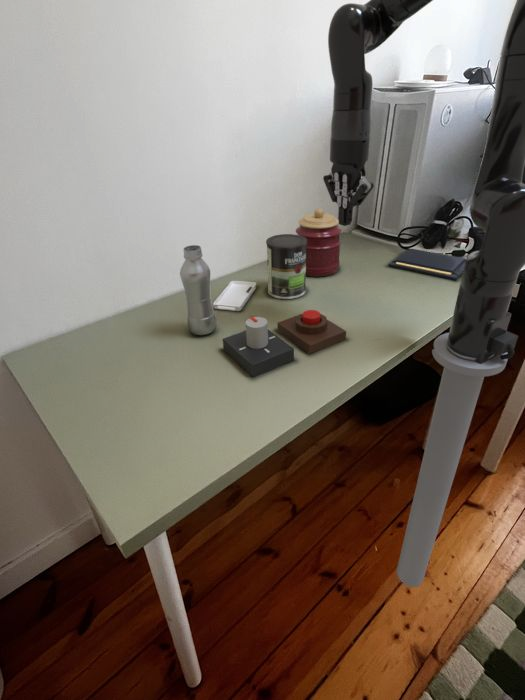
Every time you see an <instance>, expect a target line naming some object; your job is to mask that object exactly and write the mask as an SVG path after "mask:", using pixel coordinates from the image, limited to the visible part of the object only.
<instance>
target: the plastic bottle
mask: <svg viewBox="0 0 525 700" xmlns="http://www.w3.org/2000/svg"><path fill="white" fill-rule="evenodd" d="M182 251H183V259H184V261H183V263H182V265H181V266H180V270H179V277H180V280H181V283H182V286H183V289H184V294H185V299H186V305H187V306H186V307H187V323H186V324H187V326H188V329H189V331H190V332H191V333H192V334H193V335H196V336H204V335H209V334H211V333H212V332H214V331H215V329H216V327H217V315H216V313H215V310H214V307H213V301H212V295H211V292H212V291H211V269H210V267H209V265H208V263H207V262H206V260H204V259H203V252H202V251H203V250H202V246H200V245H197V244H193V245H187V246H184V248H183V249H182Z"/></svg>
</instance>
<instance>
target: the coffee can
mask: <svg viewBox="0 0 525 700" xmlns="http://www.w3.org/2000/svg"><path fill="white" fill-rule="evenodd" d="M265 244H266V260H267V262H266V264H267V293H268V295H270V296H271V297H273V298H275V299H279V300H294V299H297V298H300V297H302V296H304V295H305V294H306V292H307V290H306V289H307V288H306V282H307V280H306V279H307V278H306V277H307V275H306V244H307V239H306V238H305V237H303V236H299V235H297V234H292V233H283V234H282V233H281V234H276V235H272V236H270V237H268V238H267V239H266V241H265Z"/></svg>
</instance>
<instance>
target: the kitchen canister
mask: <svg viewBox="0 0 525 700" xmlns="http://www.w3.org/2000/svg"><path fill="white" fill-rule="evenodd" d="M339 225H340V224H339V221H338V218H336V217H335V216H334V215H332V214H330V213H326V212H325V213H324V210H323V209H322V208H316V209H315V210H314V212H313V213H309V214H305V215H304V216H303V217H301V218H300V219H299V220H298V226H296V228H295V229H294V230H295V233H296V235H299V236H303V237H305V238H306V239H307V244H306V277H307V276H308V277H314V278H315V277H316V278H319V277H321V278H322V277H329V276H331V275H334V274H336V273H337V272H338V271H339V268H340V254H341V253H340V252H341V243H342V241H341V238H340V234H341V233H342V232H343V231H342V227H341V226H339Z"/></svg>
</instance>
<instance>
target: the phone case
mask: <svg viewBox="0 0 525 700" xmlns="http://www.w3.org/2000/svg"><path fill="white" fill-rule="evenodd" d="M249 289H250V290H249ZM256 289H257V282H256V281H243V280H231V281H230V282H229V283H228V284H227V285H226V287H225V288H224V289H223V290H222V292H221V293H220V294H219V295H218V296H217V298H216V299H215V300H214V302H212V306H213V310H214V309H215V310H223V311H234V312H240V311H241V310H242V309H243V308H244V307H245V305H246V304H247V303H248V301H249V299H250V298H251V296H252V295H253V293H254V292H255V291H256Z"/></svg>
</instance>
